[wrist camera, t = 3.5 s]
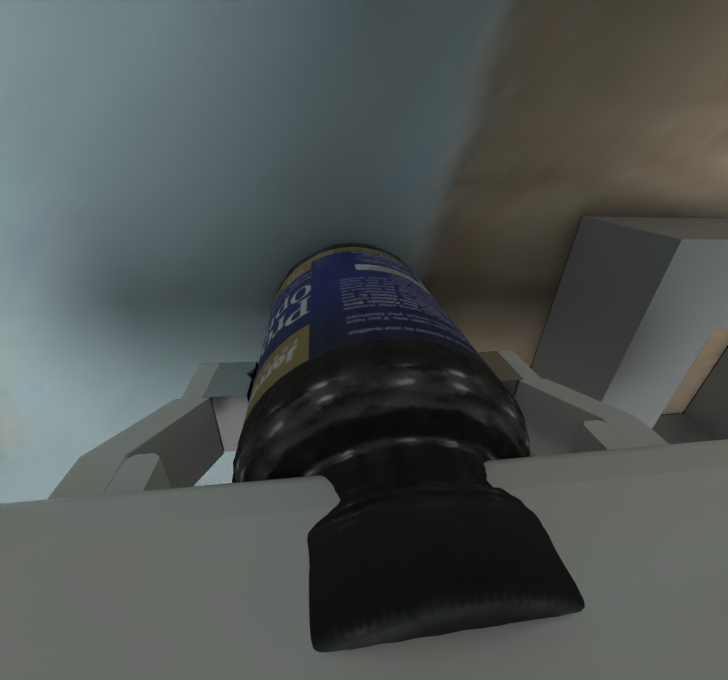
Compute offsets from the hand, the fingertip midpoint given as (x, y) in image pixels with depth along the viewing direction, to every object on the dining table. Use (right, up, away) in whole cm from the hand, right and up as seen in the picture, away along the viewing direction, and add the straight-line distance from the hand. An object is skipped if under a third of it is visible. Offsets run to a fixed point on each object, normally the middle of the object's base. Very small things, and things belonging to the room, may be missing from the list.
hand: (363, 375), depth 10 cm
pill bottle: (-1, +2, +4) cm, 4 cm away
